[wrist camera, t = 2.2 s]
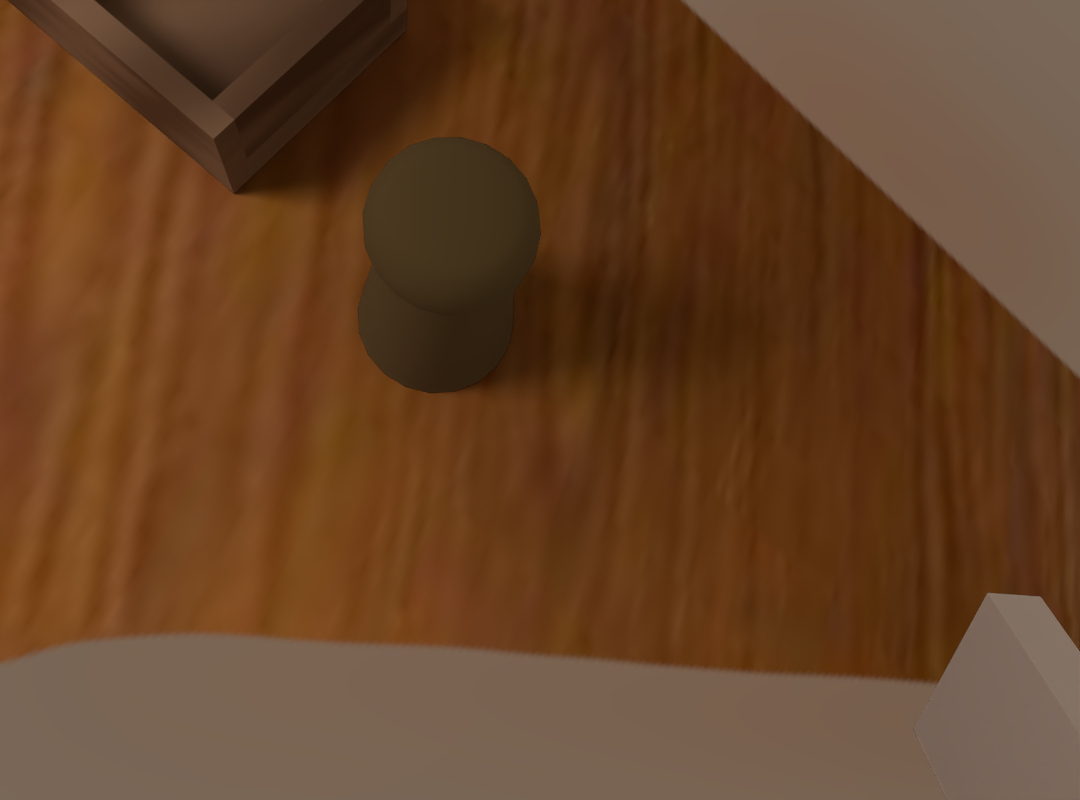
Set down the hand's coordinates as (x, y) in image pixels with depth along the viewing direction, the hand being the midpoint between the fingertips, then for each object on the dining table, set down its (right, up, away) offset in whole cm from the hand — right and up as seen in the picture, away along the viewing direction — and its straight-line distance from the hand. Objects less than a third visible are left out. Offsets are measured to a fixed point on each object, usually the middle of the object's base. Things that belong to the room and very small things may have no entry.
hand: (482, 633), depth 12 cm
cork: (-3, +6, +25) cm, 26 cm away
